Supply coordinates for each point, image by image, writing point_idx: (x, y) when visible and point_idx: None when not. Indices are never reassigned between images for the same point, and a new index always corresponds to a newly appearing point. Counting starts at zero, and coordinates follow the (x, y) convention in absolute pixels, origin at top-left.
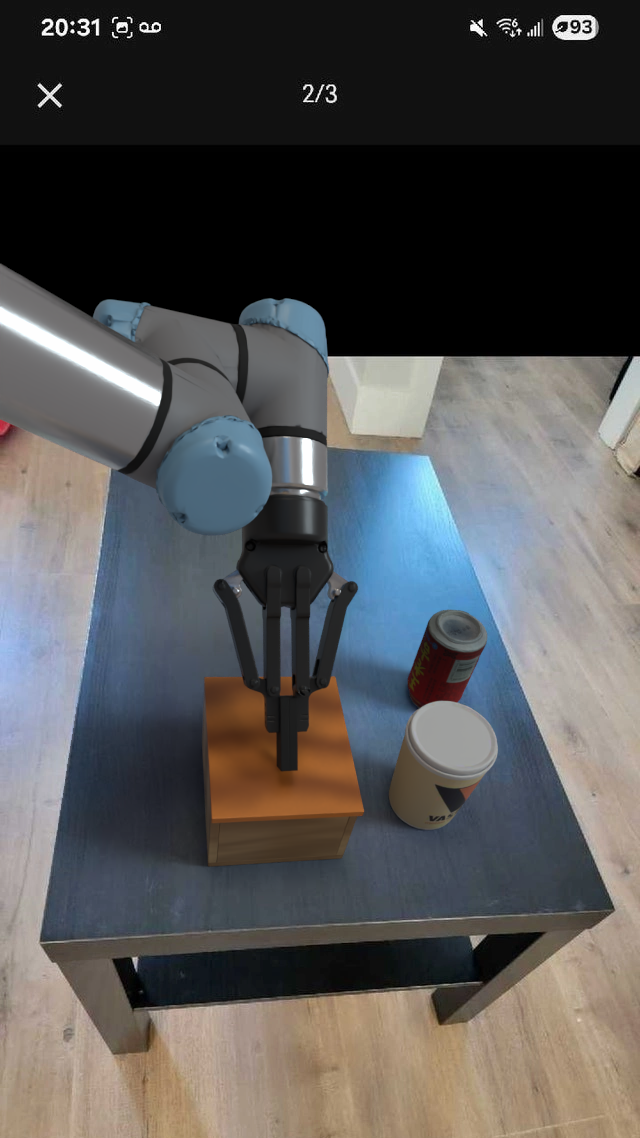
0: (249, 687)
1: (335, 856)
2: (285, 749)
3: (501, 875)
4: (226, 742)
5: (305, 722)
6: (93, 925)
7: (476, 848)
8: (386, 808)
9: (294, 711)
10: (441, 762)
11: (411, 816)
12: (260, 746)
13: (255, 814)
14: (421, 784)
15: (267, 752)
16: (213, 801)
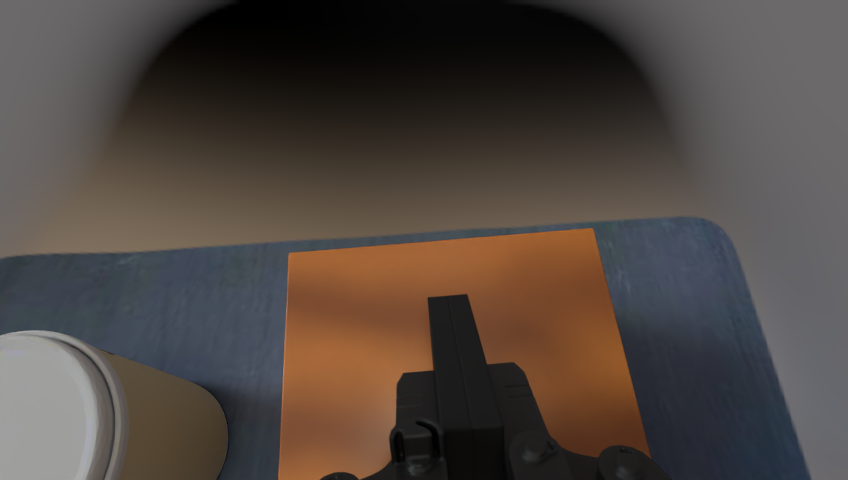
0: (634, 452)
1: None
2: (462, 322)
3: (92, 301)
4: (597, 429)
5: (407, 389)
6: (679, 225)
7: (108, 348)
8: (238, 427)
9: (447, 392)
10: (59, 359)
11: (197, 387)
12: None
13: (509, 239)
14: (143, 373)
15: None
16: (597, 264)
